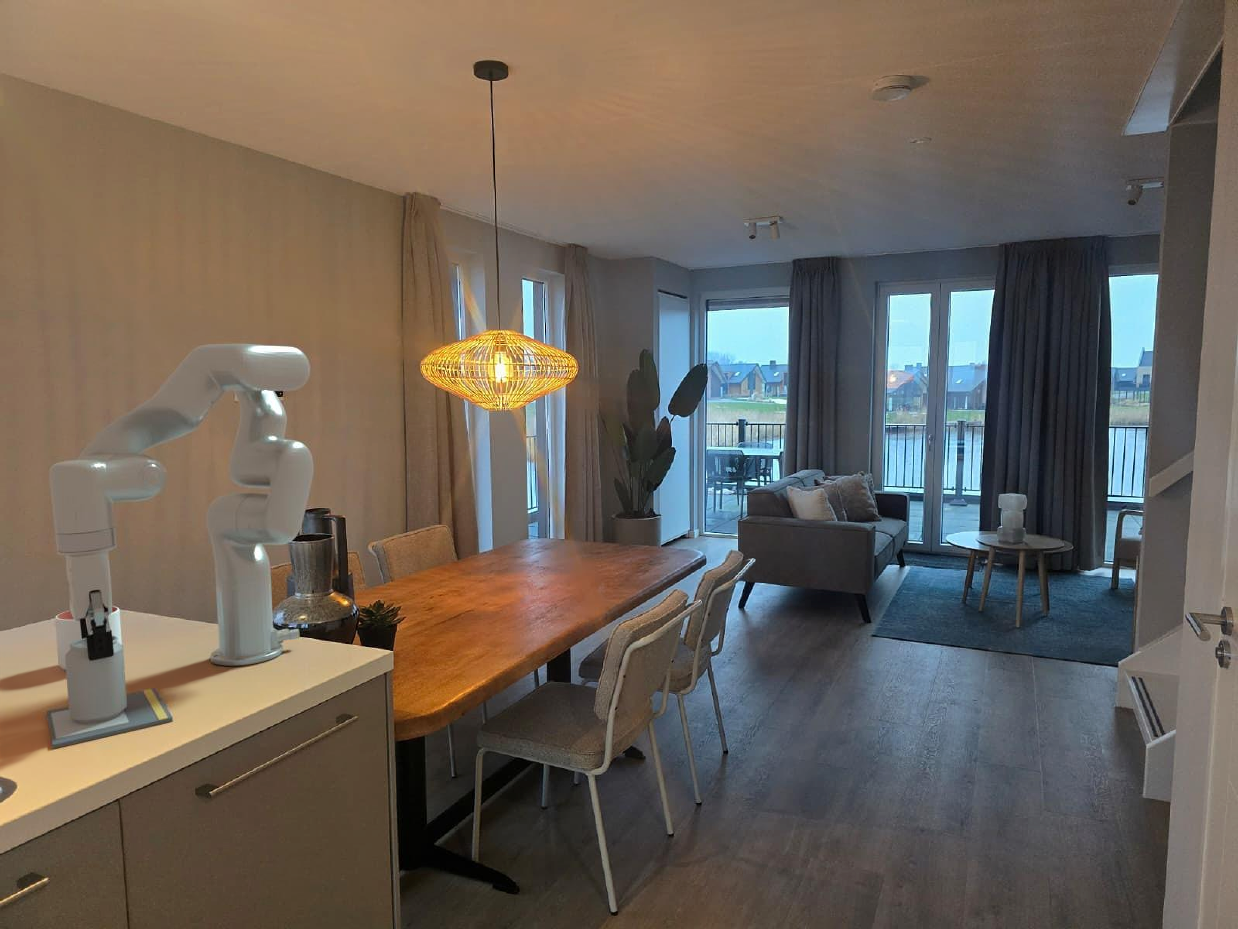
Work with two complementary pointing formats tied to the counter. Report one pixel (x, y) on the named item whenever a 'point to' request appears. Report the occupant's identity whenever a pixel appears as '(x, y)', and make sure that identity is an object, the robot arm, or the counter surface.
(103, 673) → the can
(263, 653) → the robot arm
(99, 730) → the mat
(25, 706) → the counter surface
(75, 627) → the cup
